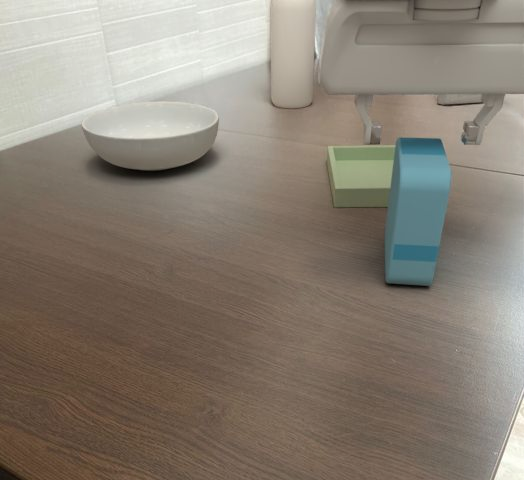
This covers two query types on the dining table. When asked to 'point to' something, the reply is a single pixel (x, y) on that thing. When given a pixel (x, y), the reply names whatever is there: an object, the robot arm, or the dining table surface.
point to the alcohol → (292, 52)
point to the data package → (416, 210)
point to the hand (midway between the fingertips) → (420, 143)
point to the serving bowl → (151, 134)
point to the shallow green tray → (360, 175)
